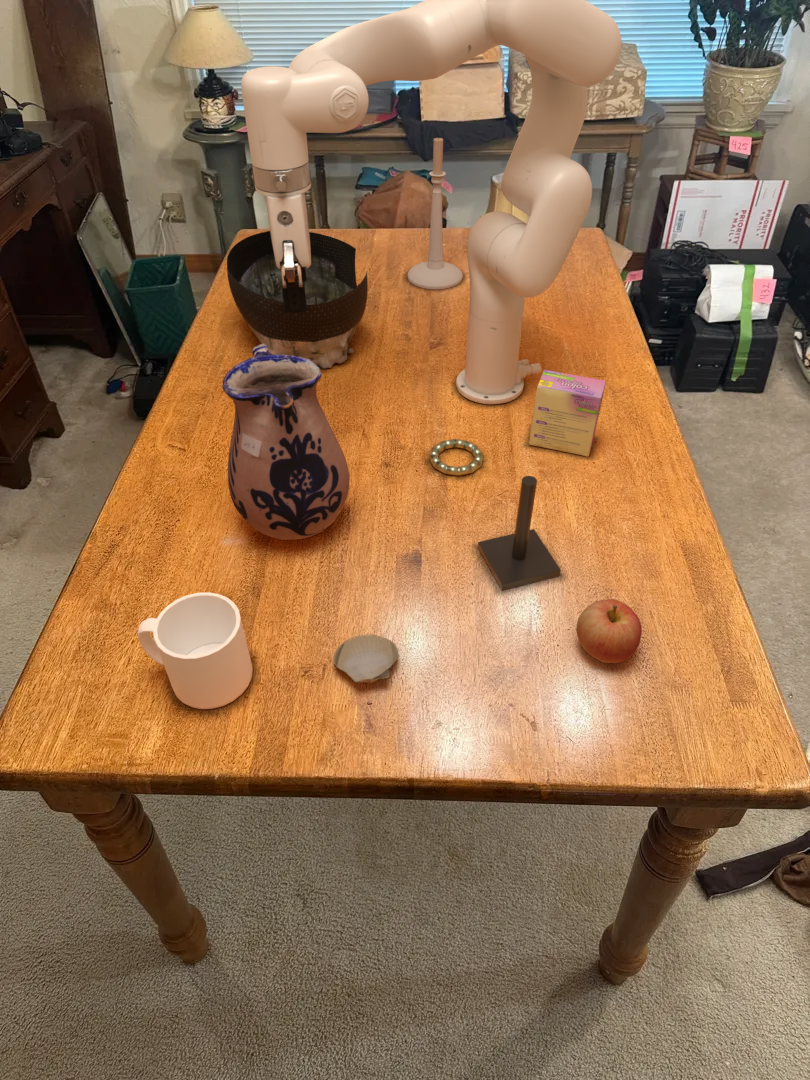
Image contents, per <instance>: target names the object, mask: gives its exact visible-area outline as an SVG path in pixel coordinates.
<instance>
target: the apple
mask: <svg viewBox="0 0 810 1080" xmlns="http://www.w3.org/2000/svg"><path fill="white" fill-rule="evenodd" d="M638 616H639V615H638V614H637V613H636V612H635V611H634V609H633V608H632V607H630V606H629V605H628V604H626V603H624V602H623V601H620V600H618V599H615V598H607V599H599V600H595V601H593V602H592V603H591V604H589V605H588V606H587V607H586V608H584V609H583V610H582V612H581V613H580V614H579V616H578V619H577V621H576V635H577V638H578V641H579V643H580V645H581V647H582V648H583V650H584V651H585V652H586V653H588V655H590V656H591V657H592V658H594V659H596V660H597V661H600V662H601V663H606V664H616V663H622V662H624V661H627V660H628V659H630V658H631V657H632V656H633V655H634V654H635V652H636V651H637V650H638V648H639V646H640V643H641V639H642V623H641V619H640V618H639V617H638Z"/></svg>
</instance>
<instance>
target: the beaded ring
mask: <svg viewBox="0 0 810 1080" xmlns="http://www.w3.org/2000/svg"><path fill="white" fill-rule="evenodd" d="M452 448H453V449H454V448H455V449H456V448H457V449H464V450H466V451H468V452H470V453H472V455H473V457H474V458H473V461H471V462H470V463H469V464H467V465H461V466H454V465H448V464H446V463H444V462H442V461H441V460H440V458H439V455H440V454H441V452H443V451H444V450H448V449H452ZM428 458H429V459H428V460H429V461H430V463H431V464H432V467H433V468H434V469H436V470H437V471H439V472H441V473H442V474H445V475H450V476H457V477H460V476H464V475H469V474H473V473H474V472H475V471H477V470H478V469H479V468H481V467H482V465H483V460H484V454H483V452H482V450H481V448H480V447H479V446H478V445H476V444H474V443H473V442H471V441H468V440H466V439H458V438H452V439H446V440H442V441H440V442H439V443H437V444H435V445H434V446H433V447H432V448H431V450H430V453H429V457H428Z"/></svg>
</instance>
